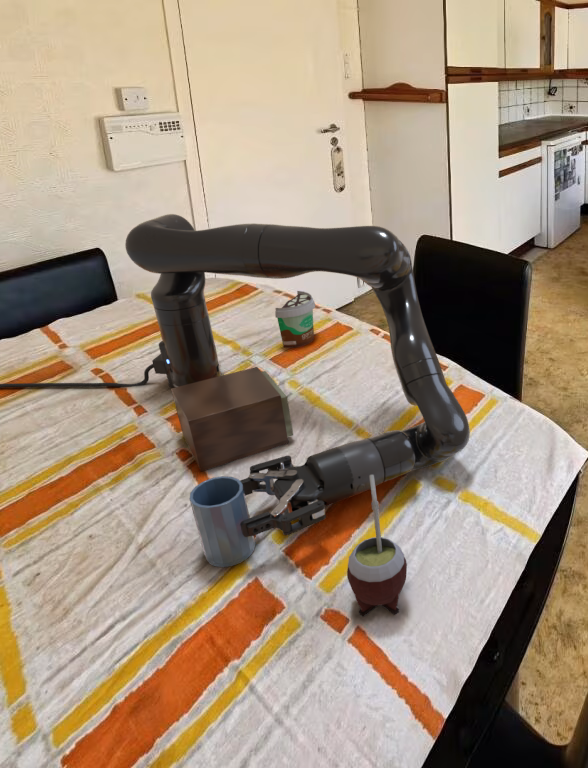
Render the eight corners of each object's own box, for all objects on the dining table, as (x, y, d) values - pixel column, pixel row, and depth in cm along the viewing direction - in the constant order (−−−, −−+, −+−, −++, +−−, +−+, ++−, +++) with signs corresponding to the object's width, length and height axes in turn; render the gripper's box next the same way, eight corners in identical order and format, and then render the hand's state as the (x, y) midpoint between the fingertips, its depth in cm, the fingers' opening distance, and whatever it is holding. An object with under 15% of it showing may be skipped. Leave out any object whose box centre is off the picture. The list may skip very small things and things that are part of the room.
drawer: (278, 405, 117) (272, 368, 113) (300, 433, 108) (294, 394, 105) (196, 429, 110) (187, 390, 106) (213, 460, 101) (203, 420, 98)
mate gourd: (377, 633, 72) (368, 535, 65) (335, 598, 77) (321, 503, 70) (422, 596, 77) (418, 500, 70) (380, 565, 82) (372, 473, 75)
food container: (306, 352, 139) (300, 310, 135) (280, 350, 140) (274, 308, 136) (327, 331, 150) (322, 291, 145) (303, 329, 151) (298, 289, 146)
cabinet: (265, 412, 116) (257, 366, 112) (288, 443, 107) (280, 395, 103) (183, 436, 109) (170, 388, 105) (200, 471, 100) (188, 421, 96)
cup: (196, 565, 82) (180, 505, 77) (218, 532, 88) (204, 474, 83) (243, 569, 81) (229, 509, 77) (262, 535, 87) (250, 477, 82)
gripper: (323, 427, 94) (212, 462, 86) (365, 474, 83) (243, 519, 75) (328, 468, 97) (222, 505, 89) (369, 518, 87) (253, 565, 79)
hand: (232, 511), depth 82 cm, fingers open, 8 cm apart
